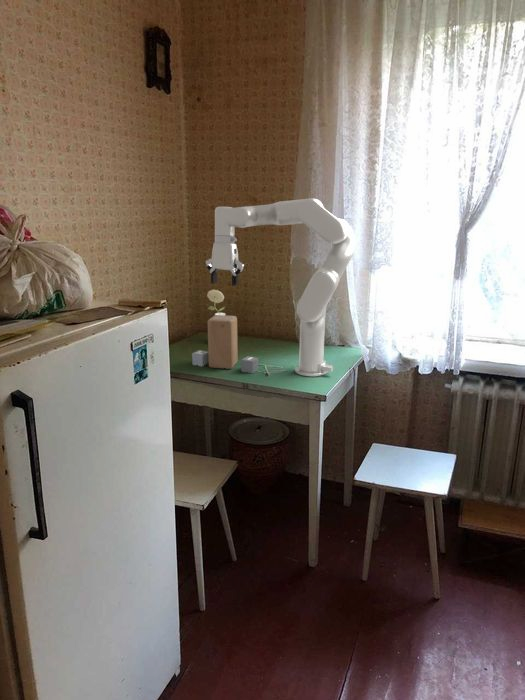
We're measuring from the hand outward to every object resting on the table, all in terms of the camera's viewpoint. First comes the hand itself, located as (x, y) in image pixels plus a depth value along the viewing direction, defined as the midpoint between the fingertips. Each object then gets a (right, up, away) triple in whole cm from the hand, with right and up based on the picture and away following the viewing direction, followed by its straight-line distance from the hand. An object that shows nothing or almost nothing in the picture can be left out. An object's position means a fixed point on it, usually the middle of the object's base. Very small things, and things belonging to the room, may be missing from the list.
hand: (224, 284), depth 205 cm
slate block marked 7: (-10, -32, +11) cm, 35 cm away
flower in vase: (-5, -22, +43) cm, 48 cm away
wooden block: (-1, -32, +9) cm, 34 cm away
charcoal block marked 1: (+10, -34, +3) cm, 36 cm away
